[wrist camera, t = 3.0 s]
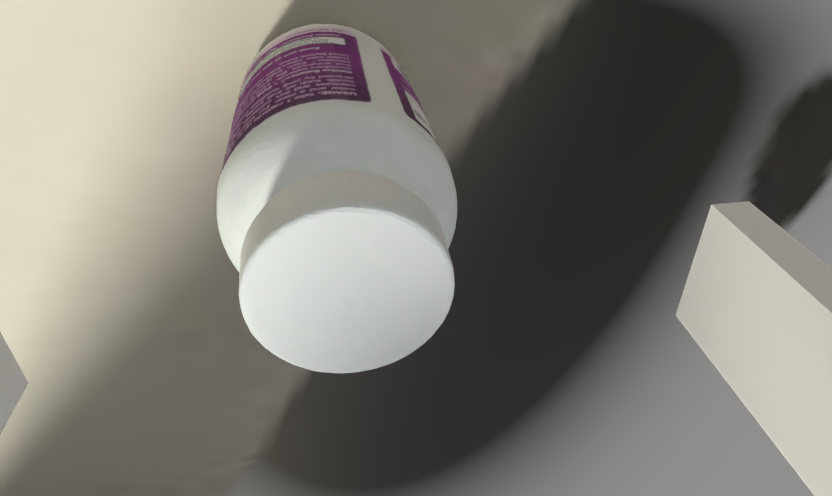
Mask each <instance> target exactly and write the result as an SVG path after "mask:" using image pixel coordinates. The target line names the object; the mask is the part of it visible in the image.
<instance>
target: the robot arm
mask: <svg viewBox="0 0 832 496" xmlns="http://www.w3.org/2000/svg"><path fill="white" fill-rule="evenodd" d="M676 316H677V318H678V319H679V320H680V322H681V323H682V324H683V325H684V327H685V328H686V329H687V331H688V332H689V333H690V335H691V336H692V337H693V338H694V340H695V341H696V342H697V344H698V345H699V346H700V348H701V349H702V350H703V352H704V353H705V354H706V355H707V357H708V358H709V359H710V361H711V362H712V363H713V364H714V366H715V367H716V368H717V370H718V371H719V372H720V374H721V375H722V376H723V378H724V379H725V380H726V381H727V383H728V384H729V385H730V387H731V388H732V389H733V391H734V392H735V393H736V394H737V396H738V397H739V398H740V399H741V401H742V402H743V404H744V405H745V406H746V407H747V409H748V410H749V411H750V413H751V414H752V415H753V417H754V418H755V419H756V420H757V422H758V423H759V424H760V426H761V427H762V428H763V430H764V431H765V432H766V433H767V435H768V436H769V437H770V439H771V440H772V441H773V443H774V444H775V445H776V446H777V448H778V449H779V450H780V451H781V453H782V454H783V456H784V457H785V458H786V459H787V461H788V462H789V463H790V464H791V466H792V467H793V469H794V470H795V471H796V472H797V473H798V475H799V476H800V478H801V479H802V480H803V482H804V483H805V484H806V485H807V487H808V488H809V489H810V491H811V492H812V493H813V495H814V496H832V269H831V268H830V267H828V266H827V265H826V264H825V263H824V262H822V261H821V260H820V259H819V258H817V257H816V256H815V255H814V254H813V253H811V252H810V251H809V250H808V249H806V248H805V247H804V246H803V245H802V244H800V243H799V242H798V241H797V240H795V239H794V238H793V237H792V236H791V235H789V234H788V233H787V232H786V231H784V230H783V229H782V228H781V227H780V226H778V225H777V224H776V223H775V222H773V221H772V220H771V219H770V218H769V217H767V216H766V215H765V214H764V213H762V212H761V211H760V210H759V209H758V208H756V207H755V206H754V205H753V204H751V203H750V202H737V203H726V204H713V205H711V207H710V211H709V214H708V217H707V220H706V223H705V226H704V229H703V232H702V235H701V239H700V242H699V245H698V248H697V251H696V254H695V257H694V260H693V263H692V266H691V269H690V272H689V276H688V279H687V282H686V285H685V288H684V291H683V294H682V297H681V301H680V303H679V307H678V310H677V313H676ZM27 384H28V381H27V380H26V378H25V376H24V374H23V372H22V371H21V369H20V367H19V365H18V363H17V362H16V360H15V358H14V356H13V354H12V353H11V351H10V349H9V347H8V345H7V344H6V342H5V340H4V338H3V336H2V335H1V333H0V434H1V432H2V430H3V429H4V427H5V425H6V423H7V421H8V419H9V417H10V416H11V414H12V412H13V410H14V408H15V406H16V404H17V403H18V401H19V399H20V397H21V395H22V393H23V391H24V390H25V388H26V386H27Z"/></svg>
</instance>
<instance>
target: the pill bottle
mask: <svg viewBox="0 0 832 496" xmlns="http://www.w3.org/2000/svg"><path fill="white" fill-rule="evenodd" d="M216 205H217V223H218V229H219V233H220V237H221V240H222V243H223V246H224V248H225V250H226V252H227V254H228V257H229V258H230V260H231V262H232V263H233V265H234V266H235V268H236V269H237V270H238V272H239V301H240V307H241V311H242V315H243V317H244V320H245V322H246V324H247V326H248V328H249V330H250V332H251V333H252V334H253V336H254V337H255V338H256V339H257V340H258V341H259V342H260V343H261V344H262V345H263V346H264V347H265V348H266V349H267V350H269V351H270V352H271V353H272V354H274V355H276V356H277V357H279V358H281V359H283V360H285V361H287V362H288V363H290V364H293V365H296V366H299V367H302V368H305V369H308V370H312V371H317V372H326V373H354V372H362V371H366V370H372V369H376V368H379V367H382V366H386V365H388V364H391V363H394V362H395V361H397V360H400V359H402V358H404V357H406V356H407V355H409V354H410V353H412V352H413V351H415V350H416V349H417V348H419V347H420V346H421V345H423V344H424V343H425V342H426V341H427V340H428V339H429V338H430V337H432V335H433V334H434V333H435V332H436V330H437V329H438V328H439V326H441V324H442V323H443V321H444V320H445V318H446V316H447V314H448V312H449V309H450V307H451V303H452V300H453V295H454V287H455V282H454V270H453V265H452V261H451V258H450V254H449V251H448V249H449V246H450V244H451V241H452V238H453V235H454V231H455V226H456V220H457V195H456V189H455V184H454V180H453V177H452V173H451V169H450V166H449V164H448V162H447V160H446V158H445V156H444V154H443V152H442V150H441V148H440V146H439V144H438V142H437V140H436V138H435V135H434V133H433V131H432V129H431V127H430V124H429V122H428V120H427V118H426V116H425V114H424V112H423V109H422V107H421V105H420V103H419V101H418V98H417V97H416V95H415V93H414V91H413V89H412V87H411V85H410V83H409V81H408V79H407V77H406V76H405V74H404V72H403V70H402V68H401V67H400V65H399V63H398V62H397V60H396V59H395V58H394V56H393V55H392V54H391V53H390V52H389V51H388V50H387V49H386V48H385V47H384V46H383V45H381V44H380V43H379V42H378V41H377V40H375V39H374V38H372V37H370V36H369V35H367V34H365V33H363V32H361V31H359V30H357V29H354V28H351V27H348V26H343V25H338V24H309V25H304V26H301V27H297V28H294V29H292V30H290V31H288V32H286V33H284V34H282V35H280V36H278V37H277V38H275V39H274V40H272V41H271V42H270V43H268V44H267V45H266V46H265V47H264V48H263V49H262V50H261V51H260V52H259V53H258V54H257V56H256V57H255V58H254V60H253V61H252V63H251V64H250V66H249V68H248V70H247V73H246V75H245V77H244V80H243V83H242V86H241V90H240V94H239V97H238V102H237V106H236V110H235V114H234V118H233V122H232V127H231V132H230V138H229V142H228V146H227V150H226V155H225V159H224V163H223V168H222V171H221V173H220V176H219V179H218V183H217V202H216Z"/></svg>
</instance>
